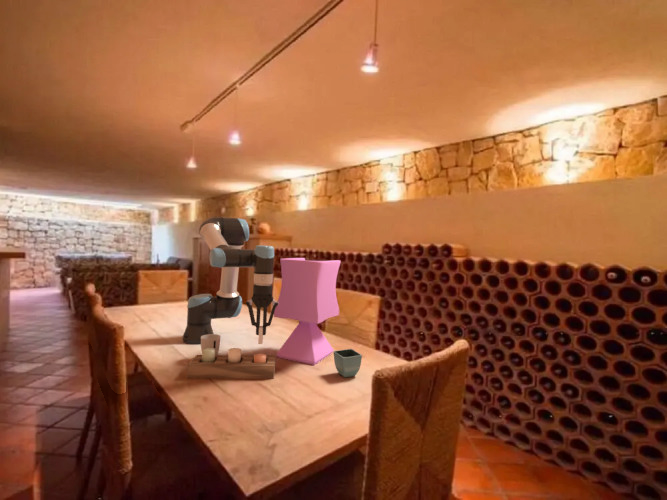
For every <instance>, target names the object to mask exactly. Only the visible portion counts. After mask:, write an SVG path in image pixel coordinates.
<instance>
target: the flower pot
mask: <svg viewBox="0 0 667 500" xmlns="http://www.w3.org/2000/svg"><path fill="white" fill-rule="evenodd" d="M362 358H363V354H361V353H359V352H358V351H356V350H354V349H352V348H347V349H339V350H333V360H334V366H335V369H336V371H337V372H338V374H339V375H341V376H342V377H343V378H349V377H351V378H352V377H355V376H357V374H358V372H359V371H360V368H361V366H362Z"/></svg>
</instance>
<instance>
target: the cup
mask: <svg viewBox="0 0 667 500" xmlns="http://www.w3.org/2000/svg"><path fill="white" fill-rule="evenodd" d="M220 342H221V335H220V334H216V333H214V334H208V335H203V336H201V344H200V348H201V349H200V350H201V351H202V350H203V349H205V348H214V349H215V355H219V351H220V347H221V346H220V345H221V343H220Z"/></svg>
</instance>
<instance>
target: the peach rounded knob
mask: <svg viewBox="0 0 667 500" xmlns="http://www.w3.org/2000/svg"><path fill="white" fill-rule="evenodd" d="M227 355H228V363H240V362H241V355H242V349H241V348H239V347H234V348H229V349H228V354H227Z"/></svg>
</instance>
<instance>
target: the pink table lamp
mask: <svg viewBox="0 0 667 500" xmlns="http://www.w3.org/2000/svg"><path fill="white" fill-rule="evenodd" d="M340 266H341V260H338V259H336V260H334V259H333V260H306V258H305V257H287V258H280V269H281V285H280V290H279V291H280V293H279V296H278V299H277V301H276V302H278V305H277V307H276V308H275V311H274V315H273V318H279V319H289V320H290V319H291V320H294V321H299V322H298V324H297V325H296V327H295V328H294V330H293V331H292V332H291V333H290V335H289V336H288V338H287V339H286V340H285V342H283V344H282V346H281V347H280V348H279V349H278V351H277V352H276V358H279V359H282V360H283V359H284V360H287V359H288V361H292V360H293V362H296V361H297V362H298V363H301V362H302V363H301V364H305V365H306V364H307V365H310V364H311V366H316V365H317V364H319V363H320V362H322V361H323V360H325V359H326V358H328V357H329V356H328V355H330V354H331V353H332V352H333V353H334V348H333V347H332V345H331V343H330V342H329V341H328V339H327V338H326V336H325V335H324V333H323V332H322V331H321V329H320V328H319V326H318V324H320V323H323V322H324V321H325V320H327V319H329V318H333V317H335V318H336V317H337V316H339V315H340V307H339V303H338V298H337V291H336V290H337V288H336V287H337V277H338V272H339V269H340ZM331 355H332V354H331ZM331 355H330V356H331ZM327 356H328V357H327ZM325 357H326V358H325ZM324 358H325V359H324ZM322 359H323V360H322ZM321 360H322V361H321ZM319 361H320V362H319ZM318 362H319V363H318ZM315 364H316V365H315Z"/></svg>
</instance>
